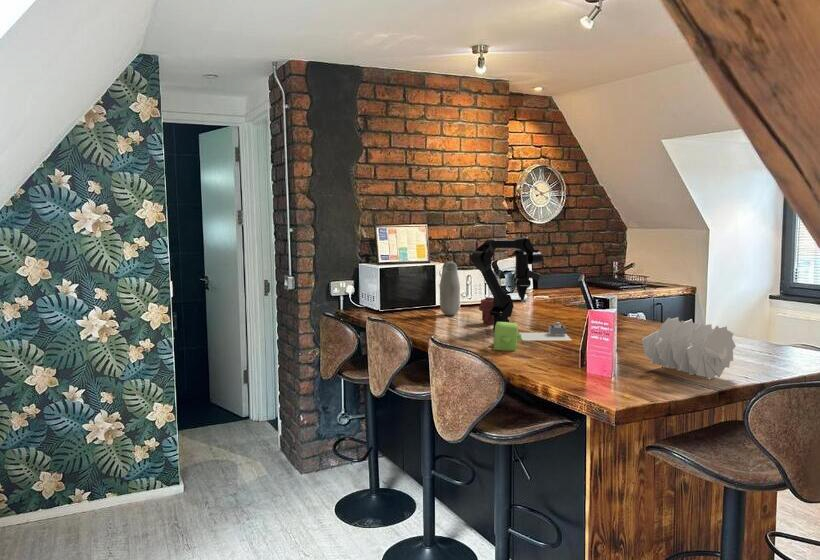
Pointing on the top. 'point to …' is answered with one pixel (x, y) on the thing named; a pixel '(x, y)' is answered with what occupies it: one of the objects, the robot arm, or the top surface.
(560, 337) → the mat
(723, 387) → the top surface
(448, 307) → the grey bottle
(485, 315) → the mechanical component
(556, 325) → the silver domed knob
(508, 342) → the green pegged block
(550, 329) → the square frame
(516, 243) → the robot arm
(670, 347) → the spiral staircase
